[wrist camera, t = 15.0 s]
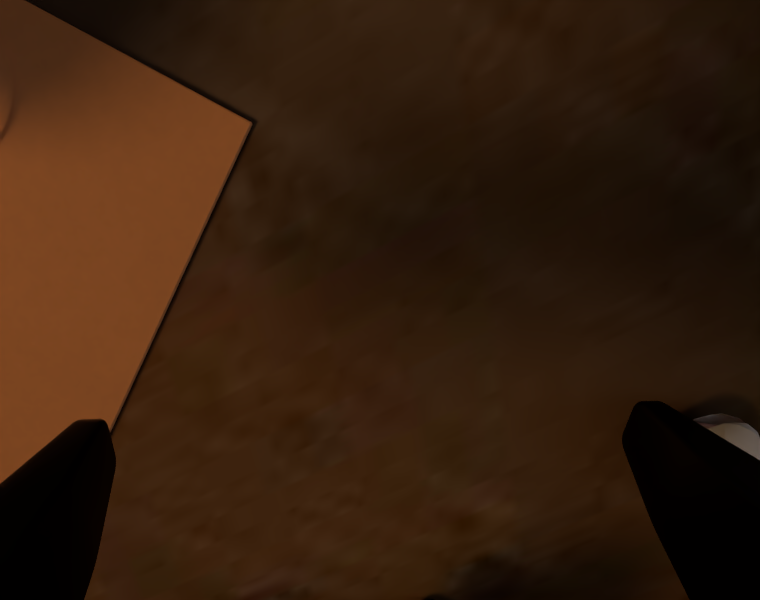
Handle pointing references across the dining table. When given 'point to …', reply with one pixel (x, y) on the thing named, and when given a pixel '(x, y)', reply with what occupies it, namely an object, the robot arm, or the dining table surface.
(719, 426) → the grey rounded piece
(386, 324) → the dining table surface
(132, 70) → the cloth
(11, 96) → the beer glass
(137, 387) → the dining table surface
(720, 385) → the dining table surface
